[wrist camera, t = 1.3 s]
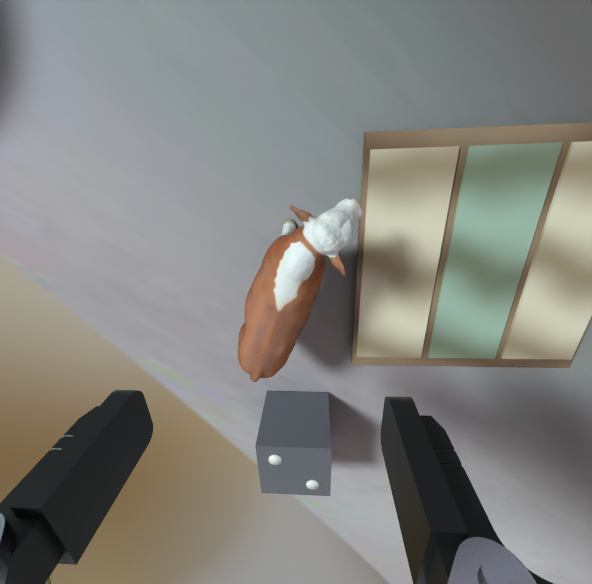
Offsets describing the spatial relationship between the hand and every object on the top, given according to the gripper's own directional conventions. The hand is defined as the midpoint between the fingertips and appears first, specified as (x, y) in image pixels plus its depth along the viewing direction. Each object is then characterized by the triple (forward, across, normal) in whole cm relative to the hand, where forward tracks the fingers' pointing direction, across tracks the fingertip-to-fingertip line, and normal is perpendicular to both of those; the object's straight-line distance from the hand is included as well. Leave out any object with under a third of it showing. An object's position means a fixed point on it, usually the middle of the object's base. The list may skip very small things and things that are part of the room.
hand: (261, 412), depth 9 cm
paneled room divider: (+14, -14, 0) cm, 20 cm away
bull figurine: (+15, 0, 0) cm, 15 cm away
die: (+15, 0, +16) cm, 22 cm away
